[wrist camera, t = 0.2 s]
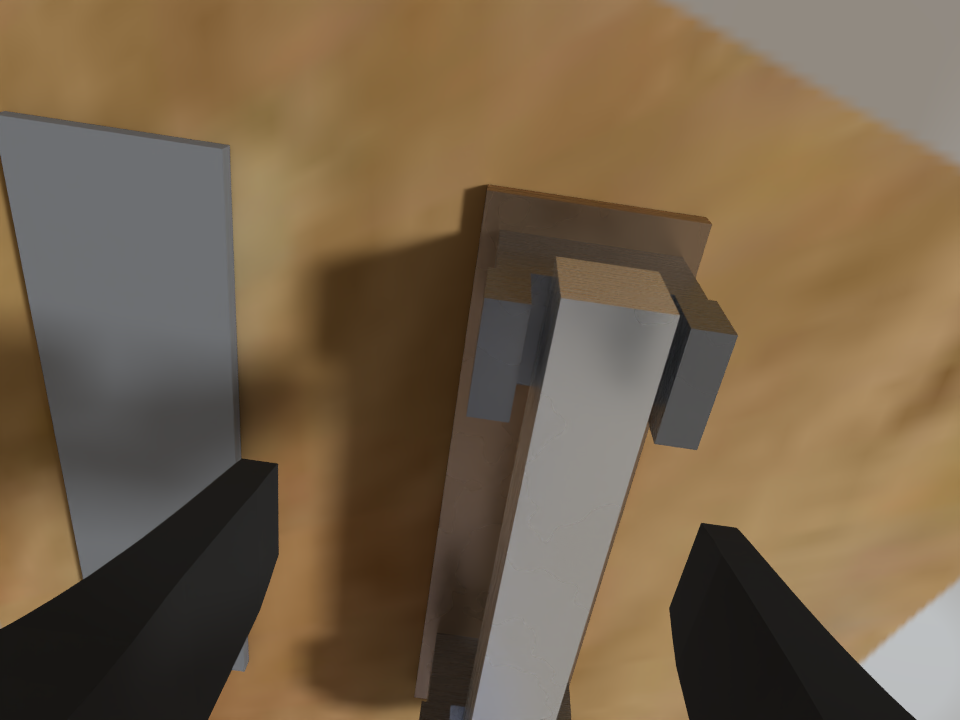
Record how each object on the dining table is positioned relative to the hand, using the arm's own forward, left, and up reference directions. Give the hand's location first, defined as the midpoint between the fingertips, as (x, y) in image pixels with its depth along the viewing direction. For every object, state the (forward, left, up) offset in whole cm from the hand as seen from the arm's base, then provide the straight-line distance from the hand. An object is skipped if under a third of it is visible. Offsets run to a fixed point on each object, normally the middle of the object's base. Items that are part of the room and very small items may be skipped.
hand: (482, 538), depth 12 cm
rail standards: (-7, -2, -10) cm, 12 cm away
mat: (-7, +11, -10) cm, 16 cm away
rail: (-7, -2, -6) cm, 10 cm away
